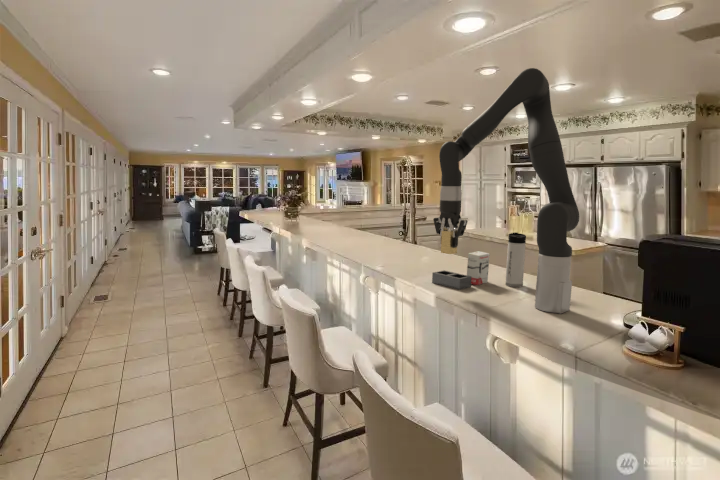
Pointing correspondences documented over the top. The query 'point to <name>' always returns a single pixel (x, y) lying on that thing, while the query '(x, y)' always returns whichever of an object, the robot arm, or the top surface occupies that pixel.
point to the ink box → (478, 267)
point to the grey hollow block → (451, 279)
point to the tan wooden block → (447, 243)
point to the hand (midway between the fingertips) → (449, 246)
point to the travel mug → (515, 260)
